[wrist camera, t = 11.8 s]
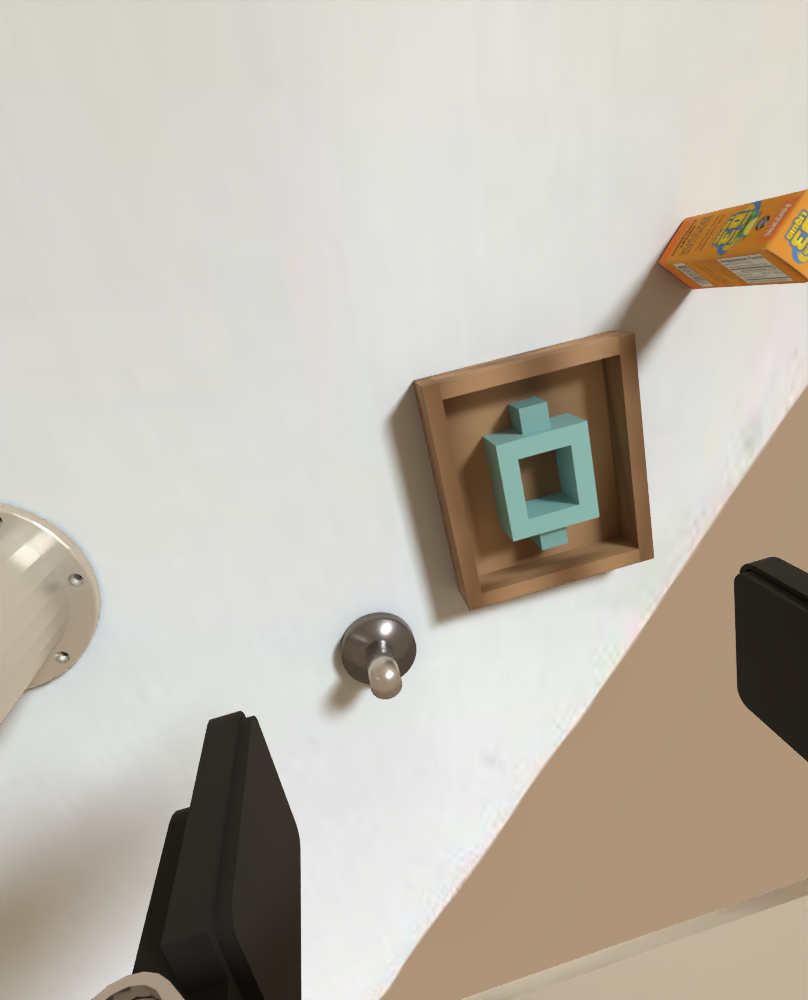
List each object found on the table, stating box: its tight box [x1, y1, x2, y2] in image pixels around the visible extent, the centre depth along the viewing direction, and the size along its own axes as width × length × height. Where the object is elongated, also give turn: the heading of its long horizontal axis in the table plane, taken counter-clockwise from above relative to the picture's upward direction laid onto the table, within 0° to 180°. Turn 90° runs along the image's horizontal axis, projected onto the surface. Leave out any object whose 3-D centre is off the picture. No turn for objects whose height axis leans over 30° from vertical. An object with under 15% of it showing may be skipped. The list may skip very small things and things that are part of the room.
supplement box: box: [658, 189, 808, 289], centre depth 33 cm, size 3×3×10 cm
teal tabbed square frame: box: [483, 397, 600, 550], centre depth 38 cm, size 10×6×3 cm, turn 13°
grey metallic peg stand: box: [341, 613, 416, 699], centre depth 40 cm, size 5×5×5 cm
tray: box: [413, 331, 654, 610], centre depth 39 cm, size 13×15×3 cm
